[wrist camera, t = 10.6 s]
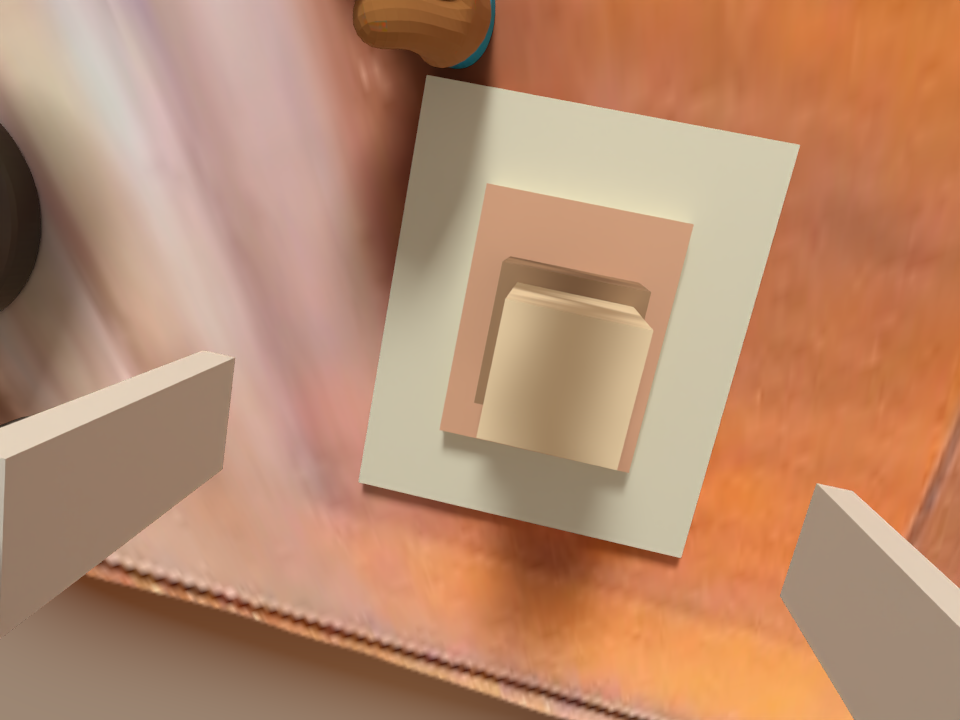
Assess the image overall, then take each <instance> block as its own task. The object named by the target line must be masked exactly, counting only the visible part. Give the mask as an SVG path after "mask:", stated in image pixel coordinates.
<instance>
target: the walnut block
mask: <svg viewBox="0 0 960 720" xmlns="http://www.w3.org/2000/svg"><path fill="white" fill-rule="evenodd" d="M517 282H518V283H523V284H528V285H532V286H537V287H542V288H547V289H551V290H556V291H561V292H565V293H570V294H575V295H580V296H584V297H589V298H594V299H598V300H603V301H608V302H613V303H617V304H622V305H627V306H631V307H634V308H635V309H636V311H637V312H638V313H639V314H640V315H641V316H642V318H643V319H645V315H646V311H647V307H648V303H649V299H650V296H651V292H650V291H649V290H648V289H647V288H645V287H644V286H643V285H641V284H640V283H638V282H633V281H628V280H624V279H619V278H614V277H609V276H604V275H599V274H594V273H590V272H585V271H580V270H575V269H570V268H565V267H560V266H556V265H551V264H546V263H541V262H536V261H531V260H526V259H522V258H517V257H512V256H510V257H508V258H507V259H505V260H504V261H503V262H502V267H501V272H500V277H499V282H498V287H497V292H496V296H495V301H494V306H493V311H492V316H491V321H490V326H489V331H488V336H487V341H486V346H485V351H484V356H483V361H482V366H481V371H480V376H479V381H478V386H477V391H476V396H475V400H474V403H477V404H482V405H483V403H484V398H485V393H486V389H487V384H488V379H489V374H490V369H491V365H492V360H493V355H494V350H495V346H496V341H497V336H498V331H499V326H500V322H501V317H502V312H503V307H504V303H505V298H506V297H507V296H508V294H509V293H510V292H511V290H512V289H513V287H514V286H515V285H516V283H517Z"/></svg>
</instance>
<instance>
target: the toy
mask: <svg viewBox="0 0 960 720" xmlns="http://www.w3.org/2000/svg"><path fill="white" fill-rule="evenodd" d="M494 19H495V0H355V4H354V8H353V25H354V27H355V30H356V32H357V35H358V36H359V37H360V38H361V39H362V41H363V42H365V43H366V44H368V45H370V46H372V47H376V48H380V49H405V50H411V51H413V52H415V53H417V54H419V55H420V56H421V58H422V59H423V60H424V61H425V62H426V63H428V64H429V65H431V66H433V67H439V68H445V67H450V68H454V69H462V68H466V67H468V66H471V65H472V64H474V63H475V62H476V61H477V60H478V59H479V58H480V57H481V56H482V55H483V53H484V52H485V50H486V48H487V46H488V44H489V41H490V38H491V35H492V31H493V26H494Z"/></svg>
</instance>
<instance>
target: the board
mask: <svg viewBox="0 0 960 720" xmlns="http://www.w3.org/2000/svg"><path fill="white" fill-rule="evenodd" d="M799 147H800V145H798V144H792V143H787V142H782V141H776V140H771V139H766V138H760V137H755V136H750V135H744V134H739V133H734V132H728V131H723V130H718V129H712V128H707V127H702V126H696V125H691V124H686V123H680V122H675V121H670V120H665V119H659V118H654V117H649V116H643V115H638V114H633V113H627V112H622V111H617V110H611V109H606V108H601V107H595V106H590V105H585V104H579V103H574V102H569V101H563V100H558V99H553V98H547V97H542V96H537V95H532V94H526V93H521V92H516V91H510V90H505V89H500V88H494V87H489V86H484V85H478V84H473V83H468V82H462V81H457V80H452V79H446V78H441V77H436V76H430V75H427V76H426V82H425V88H424V94H423V100H422V106H421V111H420V117H419V123H418V129H417V135H416V141H415V147H414V153H413V159H412V165H411V171H410V177H409V183H408V189H407V195H406V201H405V207H404V213H403V219H402V225H401V231H400V237H399V243H398V249H397V255H396V261H395V267H394V273H393V279H392V285H391V291H390V297H389V303H388V309H387V315H386V321H385V327H384V333H383V339H382V345H381V351H380V357H379V362H378V368H377V374H376V380H375V386H374V392H373V398H372V404H371V410H370V416H369V422H368V428H367V434H366V440H365V446H364V452H363V458H362V464H361V470H360V476H359V482H360V483H364V484H368V485H372V486H377V487H381V488H385V489H389V490H394V491H398V492H402V493H406V494H411V495H415V496H419V497H423V498H428V499H432V500H436V501H440V502H445V503H449V504H453V505H457V506H462V507H466V508H470V509H474V510H479V511H483V512H487V513H491V514H496V515H500V516H504V517H508V518H513V519H517V520H521V521H525V522H530V523H534V524H538V525H542V526H547V527H551V528H555V529H559V530H564V531H568V532H572V533H576V534H581V535H585V536H589V537H593V538H598V539H602V540H606V541H610V542H615V543H619V544H623V545H627V546H632V547H636V548H640V549H644V550H649V551H653V552H657V553H661V554H666V555H670V556H674V557H678V558H681V556H682V553H683V549H684V546H685V542H686V539H687V536H688V532H689V529H690V525H691V522H692V518H693V515H694V511H695V508H696V504H697V501H698V497H699V494H700V490H701V487H702V484H703V480H704V477H705V473H706V470H707V466H708V463H709V459H710V456H711V452H712V449H713V445H714V442H715V438H716V435H717V431H718V428H719V425H720V421H721V418H722V414H723V411H724V407H725V404H726V400H727V397H728V393H729V390H730V386H731V383H732V379H733V376H734V373H735V369H736V366H737V362H738V359H739V355H740V352H741V348H742V345H743V341H744V338H745V334H746V331H747V327H748V324H749V321H750V317H751V314H752V310H753V307H754V303H755V300H756V296H757V293H758V289H759V286H760V282H761V279H762V275H763V272H764V268H765V265H766V262H767V258H768V255H769V251H770V248H771V244H772V241H773V237H774V234H775V230H776V227H777V223H778V220H779V216H780V213H781V210H782V206H783V203H784V199H785V196H786V192H787V189H788V185H789V182H790V178H791V175H792V171H793V168H794V164H795V161H796V158H797V154H798V151H799ZM510 256H512V257H517V258H522V259H526V260H531V261H536V262H541V263H546V264H551V265H556V266H560V267H565V268H570V269H575V270H580V271H585V272H590V273H594V274H599V275H604V276H609V277H614V278H619V279H624V280H628V281H633V282H638V283H640V284H641V285H643V286H644V287H645V288H647V289H648V290H649V291H650V292H651V296H650V299H649V303H648V307H647V311H646V315H645V319H644V320H645V321H646V322H647V323H648V325H649V326H650V327H651V328H652V329H653V334H652V338H651V342H650V346H649V350H648V354H647V357H646V361H645V365H644V369H643V373H642V377H641V380H640V384H639V388H638V392H637V396H636V400H635V403H634V407H633V411H632V415H631V419H630V423H629V426H628V430H627V434H626V438H625V442H624V446H623V449H622V453H621V457H620V461H619V465H618V469H617V470H614V469H609V468H605V467H601V466H596V465H592V464H588V463H583V462H579V461H575V460H570V459H566V458H562V457H557V456H553V455H549V454H544V453H540V452H536V451H531V450H527V449H523V448H518V447H514V446H510V445H505V444H501V443H497V442H492V441H488V440H484V439H479V438H476V436H477V432H478V427H479V422H480V417H481V413H482V408H483V405H482V404H477V403H474V400H475V396H476V391H477V386H478V381H479V376H480V371H481V366H482V361H483V356H484V351H485V346H486V341H487V336H488V331H489V326H490V321H491V316H492V311H493V306H494V301H495V296H496V292H497V287H498V282H499V277H500V272H501V267H502V262H503V261H504V260H505V259H507V258H508V257H510Z"/></svg>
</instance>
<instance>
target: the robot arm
mask: <svg viewBox="0 0 960 720" xmlns="http://www.w3.org/2000/svg"><path fill="white" fill-rule="evenodd" d="M40 224H41V222H40V209H39V202H38V196H37V192H36V188H35V184H34V181H33V178H32V175H31V173H30V170H29V168H28V165H27V163H26V161H25V159H24V157H23V155H22V153H21V151H20V150H19V148H18V146H17V145H16V143H15V142H14V140H13V139H12V137H11V136H10V135H9V133H8V132H7V131H6V129H5V128H4V127H3V126H2V125H1V124H0V311H1V310H3V309H4V308H5V307H7V306H8V305H9V304H10V303H11V302H12V301H13V300H14V299H15V297H16V296H17V295H18V294H19V293H20V291H21V290H22V288H23V287H24V285H25V284H26V282H27V280H28V278H29V276H30V274H31V272H32V269H33V267H34V264H35V260H36V257H37V253H38V248H39V242H40ZM234 364H235V357H231V356H227V355H222V354H217V353H213V352H208V351H200V352H198V353H195V354H192V355H190V356H187V357H185V358H182V359H179V360H177V361H174V362H171V363H169V364H166V365H164V366H161V367H158V368H156V369H153V370H151V371H148V372H145V373H143V374H140V375H137V376H135V377H132V378H130V379H127V380H124V381H122V382H119V383H117V384H114V385H111V386H109V387H106V388H103V389H101V390H98V391H96V392H93V393H90V394H88V395H85V396H82V397H80V398H77V399H75V400H72V401H69V402H67V403H64V404H62V405H59V406H56V407H54V408H51V409H48V410H46V411H43V412H41V413H38V414H35V415H33V416H27V417H22V418H19V419H16V420H13V421H11V422H8V423H5V424H3V425H0V639H1V638H2V637H3V636H5V635H6V634H7V633H9V632H10V631H11V630H13V629H14V628H15V627H16V626H18V625H19V624H20V623H22V622H23V621H24V620H26V619H27V618H28V617H30V616H31V615H32V614H33V613H35V612H36V611H37V610H39V609H40V608H41V607H43V606H44V605H45V604H47V603H48V602H49V601H50V600H52V599H53V598H54V597H55V596H57V595H58V594H60V593H61V592H62V591H63V590H65V589H66V588H68V587H69V586H70V585H71V584H73V583H74V582H75V581H77V580H78V579H79V578H81V577H82V576H83V575H85V574H86V573H87V572H88V571H90V570H91V569H92V568H94V567H95V566H96V565H98V564H99V563H100V562H102V561H103V560H104V559H106V558H107V557H108V556H109V555H111V554H112V553H113V552H115V551H116V550H117V549H119V548H120V547H121V546H123V545H124V544H125V543H126V542H128V541H129V540H130V539H132V538H133V537H134V536H136V535H137V534H138V533H140V532H141V531H142V530H143V529H145V528H146V527H147V526H149V525H150V524H151V523H153V522H154V521H155V520H157V519H158V518H159V517H160V516H162V515H163V514H164V513H166V512H167V511H168V510H170V509H171V508H172V507H174V506H175V505H176V504H177V503H179V502H180V501H181V500H183V499H184V498H185V497H187V496H188V495H189V494H191V493H192V492H193V491H195V490H196V489H197V488H198V487H200V486H201V485H202V484H204V483H205V482H206V481H208V480H209V479H210V478H212V477H213V476H214V475H215V474H217V473H218V472H219V471H221V470H222V469H223V461H224V452H225V443H226V434H227V425H228V416H229V408H230V399H231V390H232V381H233V372H234ZM780 597H781V598H782V600H783V602H784V603H785V605H786V607H787V608H788V610H789V612H790V613H791V615H792V617H793V618H794V620H795V622H796V623H797V625H798V627H799V628H800V630H801V632H802V633H803V635H804V637H805V638H806V640H807V642H808V643H809V645H810V647H811V648H812V650H813V652H814V653H815V655H816V657H817V658H818V660H819V662H820V663H821V665H822V667H823V668H824V670H825V672H826V673H827V675H828V677H829V678H830V680H831V682H832V683H833V685H834V687H835V688H836V690H837V692H838V693H839V695H840V697H841V698H842V700H843V702H844V703H845V705H846V707H847V708H848V710H849V712H850V713H851V715H852V717H853V718H854V720H960V589H959V588H958V587H957V586H956V585H955V584H954V583H953V582H952V581H951V580H949V579H948V578H947V577H946V576H945V575H944V574H943V573H942V572H941V571H940V570H938V569H937V568H936V567H935V566H934V565H933V564H932V563H931V562H930V561H929V560H928V559H926V558H925V557H924V556H923V555H922V554H921V553H920V552H919V551H918V550H917V549H915V548H914V547H913V546H912V545H911V544H910V543H909V542H908V541H907V540H906V539H905V538H903V537H902V536H901V535H900V534H899V533H898V532H897V531H896V530H895V529H894V528H892V527H891V526H890V525H889V524H888V523H887V522H886V521H885V520H884V519H883V518H882V517H880V516H879V515H878V514H877V513H876V512H875V511H874V510H873V509H872V508H871V507H869V506H868V505H867V504H866V503H865V502H864V501H863V500H862V499H861V498H860V497H859V496H857V495H856V494H855V493H854V492H853V491H850V490H845V489H841V488H836V487H831V486H827V485H822V484H818V483H817V484H816V487H815V490H814V493H813V496H812V499H811V502H810V505H809V508H808V511H807V514H806V517H805V520H804V524H803V527H802V530H801V533H800V536H799V539H798V542H797V545H796V548H795V551H794V554H793V557H792V560H791V563H790V566H789V569H788V572H787V576H786V579H785V582H784V585H783V588H782V591H781V594H780Z"/></svg>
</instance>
